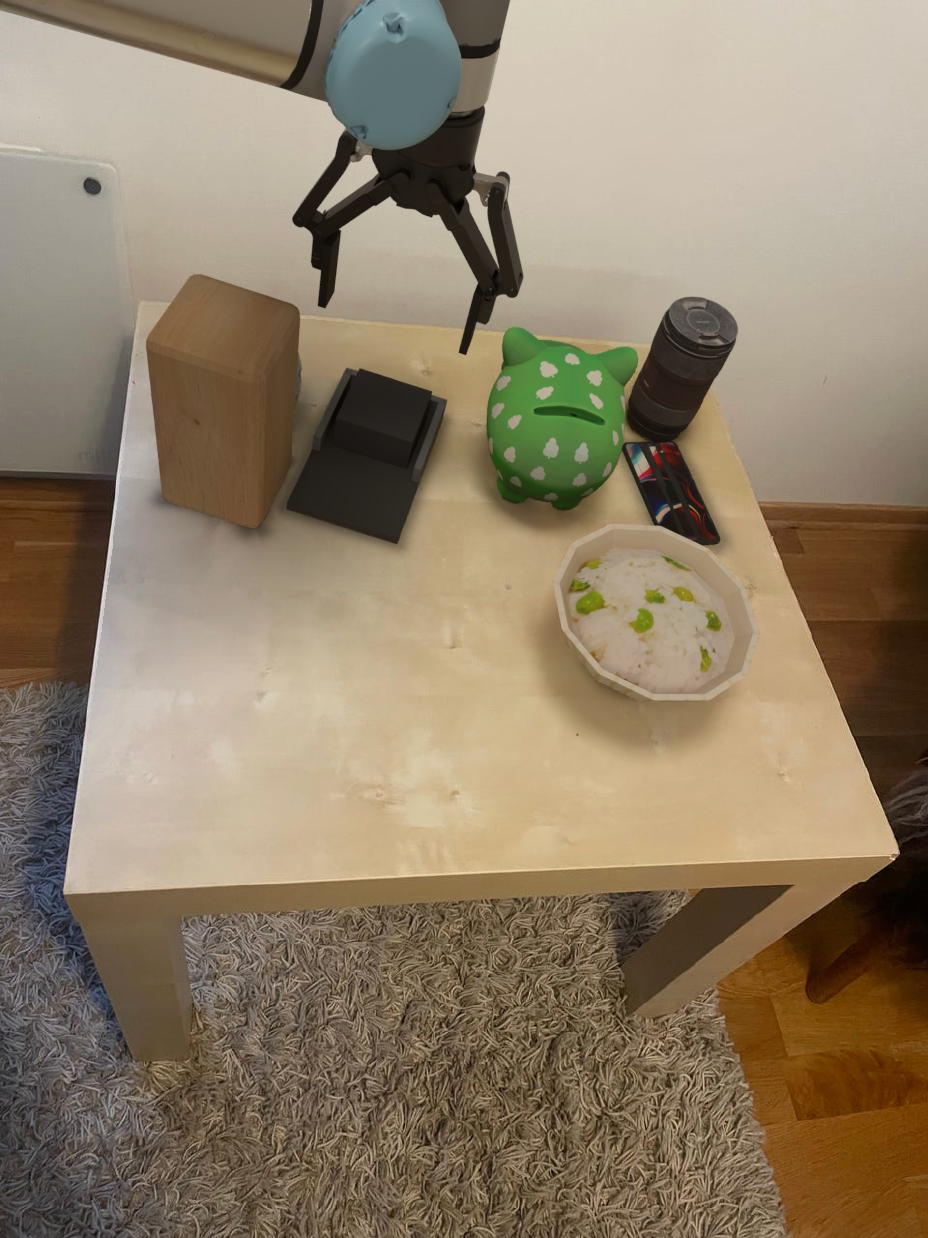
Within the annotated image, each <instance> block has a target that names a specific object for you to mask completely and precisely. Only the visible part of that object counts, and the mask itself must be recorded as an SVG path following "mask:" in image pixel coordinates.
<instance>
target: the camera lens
mask: <svg viewBox="0 0 928 1238" xmlns="http://www.w3.org/2000/svg"><path fill="white" fill-rule="evenodd" d="M738 333H739V325H738V323H737V320H736V319H735V316H734V315H733V314H732V313H731V312H730V311H729V309H727V308H726V307H725V306H723V305H722V304H719V303H718V302H716V301H714V300H711V299H708V298H705V297H702V296H701V297H700V296H685V297H684V296H683V297H681V298H678V299H675V300H674V301H673V302H672V303H671V304H670V306H669V308H668V309H667V310H666V311H665V312H664V314H663V316H662V318H661V321H660V323H659V325H658V327H657V329H656V331H655V335H654V336H653V338H652V342H651V345H650V349H649V352H648V354H647V356H646V359H645V361H644V362H643V365H642V366H641V369H640V371H639V372H638V375H637V376H636V378H635V380H634V383H633V385H632V388H631V391H630V394H629V398H628V401H627V406H628V408H627V411H626V419H627V423H628V424H629V426H630V427H631V428H632V430H633V431H634V432H635V433H637V435H639V437H640V436H641V437H642V438H643V439H646V440H648V441H659V442H667V441H673V442H674V440H677V438H678V437H679V436H680V434H681V433H682V432H684V431H686V430H687V429H688V427H689V426H690V424H691V422H692V421H693V420H694V419H695V417H696V416H697V414H698V412H699V410H700V408H701V407H702V405H703V402H704V401H705V398H706V396H707V395H708V392H709V390H710V389H711V387H712V385H713V383H714V381H715V380H716V378H717V377H718V376H719V375H720V372H721V371H722V369H723V367H724V366H725V364H726V362H727V360H728V358H729V356H730V355H731V353H732V351H733V349H734V347H735V346H736V342H737V337H738Z"/></svg>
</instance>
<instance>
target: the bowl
mask: <svg viewBox="0 0 928 1238" xmlns="http://www.w3.org/2000/svg"><path fill="white" fill-rule="evenodd" d="M552 585H553V586H552V587H553V590H554V596H555V601H556V606H557V611H558V612H557V613H558V617H559V623H560V626H561V627H560V628H561V631H562V634H563V637H564V640H565V644H566V646H568V648H569V649H570V650H571V651H572V653H573V654H574V655H575V656H576V657H577V659H578V660H579V661H580V663H581V664H582V665H583V666H584V667H585V668H586V669H587V671H588V672H589V673H590V674H591V676H592V677H593V678H594V679H595V680H596V682H599V683H600V684H603V685H605V686H607V687H609V688H610V689H612V690H615V691H617V692H619V693H621V694H623V695H625V696H627V697H629V698H631V699H634V700H636V701H637V702H639V703H696V702H708V701H710V700H712V699H714V698H715V697H716V696H718V695H719V694H721V693H723V692H724V691H725V690H727V689H729V688H730V687H732V686H733V685H735V684H736V683H738V682H739V681H740V680H742V679H744V678H746V677H747V676H749V672H750V669H751V665H752V662H753V658H754V655H755V652H756V649H757V646H758V645H757V644H758V642H759V639H760V638H759V637H760V635H761V632H760V631H761V630H760V628H759V625H758V622H757V619H756V616H755V613H754V610H753V606H752V604H751V600H750V598H749V595H748V592H747V588H746V586H745V585H744V584H743V583H742V582H741V580H740V579H738V578H737V577H736V575H734V573H732V571H731V570H730V569H729V568H728V567H727V566H726V565H725V564H724V563H723V561H722V560H720V558H719V557H718V556H716V555H715V553H714V552H713V551H712V550H711V549H710V548H708V547H706V546H705V545H703V546H702V545H700V544H698V543H696V542H694V541H691V540H689V539H687V538H685V537H683V536H681V535H679V534H677V533H674V532H672V531H670V530H668V529H666V528H664V527H662V526H654V525H649V524H648V525H647V524H628V523H627V524H626V523H625V524H624V523H610V524H608V525H605V526H604V527H601V528H599V529H597V530H596V531H593V532H591V533H589V534H587V535H586V536H585V535H584V536H583V537H581V538H579V539H577V540H575V541H573V542H571V543H570V545H569V547H568V549H567V552H566V553H565V555H564V557H563V559H562V561H561V564H560V566H559V567H558V570H557V571H556V573H555V575H554V578H553V580H552Z"/></svg>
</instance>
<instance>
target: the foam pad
mask: <svg viewBox="0 0 928 1238" xmlns="http://www.w3.org/2000/svg"><path fill="white" fill-rule="evenodd" d="M357 371H358V373H357V375H356V377H355V379H354V381H353V383H352V386H351V388H350V390H349V392H348V394H347V396H346V398H345V400H344V403H343V405H342V407H341V409H340V411H339V413H338V415H337V417H336V424H335V433H334V442H333V446H335V447H339V448H342V449H345V450H348V451H351V452H354V453H357V454H361V455H364V456H367V457H370V458H373V459H376V460H379V461H383V462H386V463H389V464H392V465H395V466H398V467H401V468H404V469H407V468H408V465H409V462H410V460H411V457H412V455H413V452H414V449H415V447H416V444H417V442H418V439H419V436H420V434H421V431H422V429H423V426H424V423H425V421H426V418H427V413H428V409H429V405H430V400H431V396H432V395H433V391H432V390H430V389H427V388H423V387H420V386H417V385H414V384H410V383H408V382H404V381H403V380H402V381H401V380H398V379H395V378H392V377H389V376H386V375H382V374H380V373H377V372H374V371H370V370H368V369H364V368H361V367H360V368H359V369H358V370H357Z"/></svg>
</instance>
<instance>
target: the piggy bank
mask: <svg viewBox="0 0 928 1238" xmlns="http://www.w3.org/2000/svg"><path fill="white" fill-rule="evenodd" d="M501 353H502V359H503V361H502V363H501V369H500V370H501V371H500V373H499V374H498V376H497V378H496V380H495V382H494V383H493V385H492V387H491V390H490V393H489V396H488V400H487V406H486V427H485V428H486V438H487V439H486V440H487V446H488V451H489V456H490V459H491V462H492V464H493V467H494V470H495V471H496V486H497V490H498V492H499V494H500V496H501V498H502V499H503V501H505V502H508V503H511V504H521V503H525V502H526V501H528V499H531V500H533V501H538V502H542V503H547V504H551V506H552V508H554V509H555V510H558V511H569V510H572V509H575V508H576V507H577V506H578V505H580V504H581V502H582V501H583V500H584V499H586V498H588V497H589V496H591V495H592V494H594V493H595V492H596V491H598V489H600V488H601V487H603V485H604V484H605V483H606V482H607V481H608V480H609V478H610V477H611V475H612V474H613V473H614V471H615V469H616V467H617V465H618V463H619V460H620V457H621V454H622V453H623V451H622V446H623V444H624V440H625V432H626V431H625V429H626V418H627V411H626V396H625V395H626V394H625V387H626V385H627V384H628V383H629V381H630V380H631V379H632V377H633V376H634V374H635V373H636V370H637V368H638V366H639V354H638V351H637V349H635V348H634V347H631V346H619V347H615V348H612V349H607V350H605V351H602V352H598V353H596V354H593V353H589V352H586V351H585V350H584V349H582V348H580V347H579V346H576V345H574V344H571V343H568V342H563V341H559V340H553V339H539V338H538V337H536V336H535V335H534V334H533V333H531V332H530V331H528V330H527V329H525V328H523V327H521V326H511V327H509V328H507V329H506V330H505V332H504V334H503V337H502V344H501Z"/></svg>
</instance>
